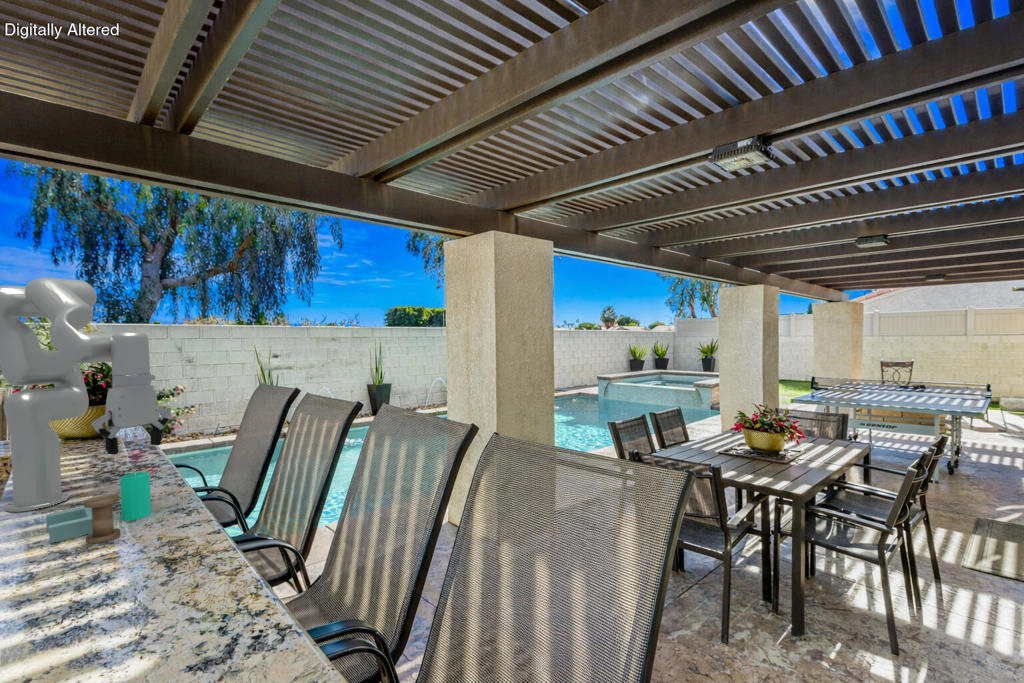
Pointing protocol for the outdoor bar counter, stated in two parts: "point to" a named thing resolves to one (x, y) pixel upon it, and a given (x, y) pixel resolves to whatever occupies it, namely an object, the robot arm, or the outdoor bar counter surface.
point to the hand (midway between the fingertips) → (135, 449)
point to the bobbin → (102, 518)
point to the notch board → (69, 524)
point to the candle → (135, 495)
